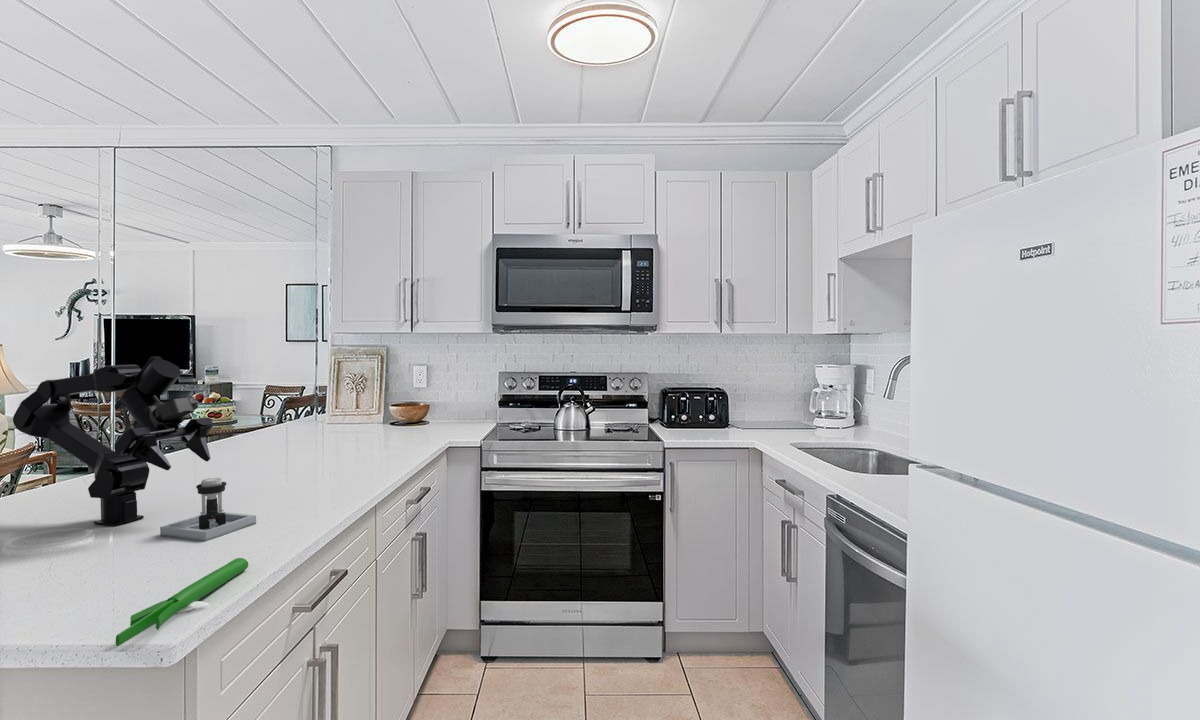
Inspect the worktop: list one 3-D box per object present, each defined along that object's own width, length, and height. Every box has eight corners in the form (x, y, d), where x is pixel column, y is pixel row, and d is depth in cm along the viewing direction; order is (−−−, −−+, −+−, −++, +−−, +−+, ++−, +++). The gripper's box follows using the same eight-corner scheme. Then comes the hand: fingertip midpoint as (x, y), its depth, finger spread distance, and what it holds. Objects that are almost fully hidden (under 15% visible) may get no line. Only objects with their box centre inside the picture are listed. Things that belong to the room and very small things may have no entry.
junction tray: (160, 535, 123) (160, 527, 123) (213, 519, 135) (212, 511, 135) (206, 541, 120) (205, 532, 120) (256, 523, 132) (256, 515, 132)
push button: (189, 533, 123) (188, 484, 123) (189, 527, 128) (188, 480, 127) (228, 527, 127) (227, 480, 127) (226, 521, 132) (225, 475, 131)
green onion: (227, 576, 104) (97, 657, 74) (228, 557, 104) (98, 630, 75) (257, 576, 105) (139, 656, 75) (257, 556, 105) (139, 629, 75)
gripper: (123, 388, 120) (169, 446, 118) (206, 381, 138) (247, 432, 136) (94, 426, 122) (138, 484, 120) (179, 414, 140) (219, 465, 138)
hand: (189, 464), depth 128 cm, fingers open, 9 cm apart
